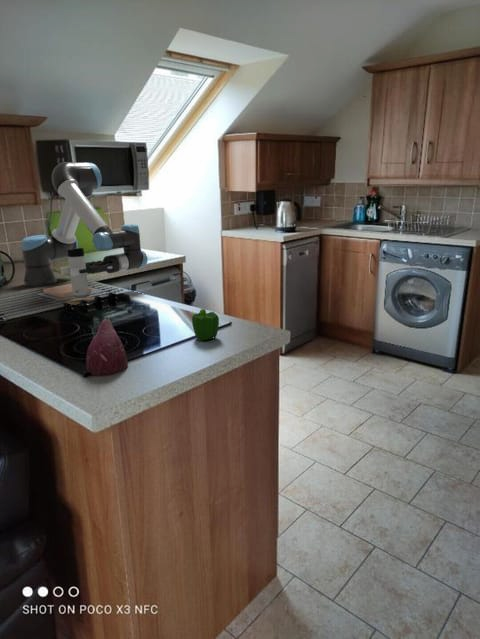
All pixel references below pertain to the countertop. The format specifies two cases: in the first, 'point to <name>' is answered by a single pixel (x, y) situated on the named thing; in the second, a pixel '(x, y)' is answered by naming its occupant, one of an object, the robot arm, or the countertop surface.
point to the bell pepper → (205, 324)
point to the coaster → (77, 300)
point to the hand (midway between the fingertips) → (66, 271)
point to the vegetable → (106, 352)
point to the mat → (67, 297)
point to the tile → (61, 291)
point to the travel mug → (78, 281)
